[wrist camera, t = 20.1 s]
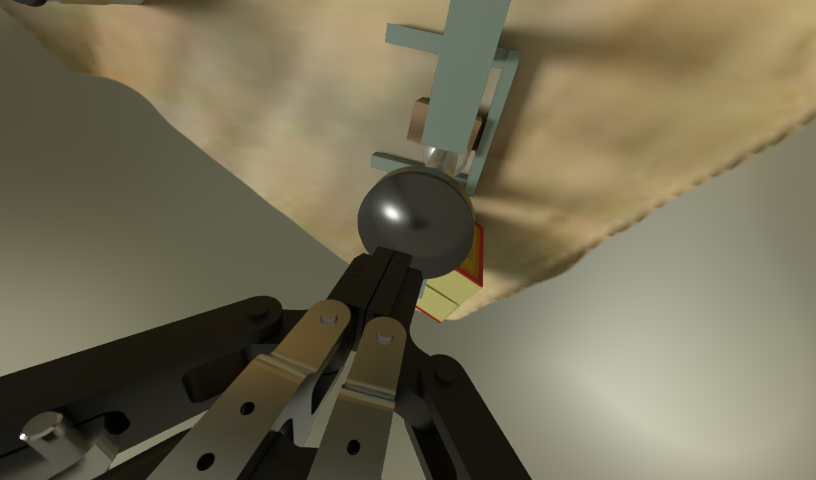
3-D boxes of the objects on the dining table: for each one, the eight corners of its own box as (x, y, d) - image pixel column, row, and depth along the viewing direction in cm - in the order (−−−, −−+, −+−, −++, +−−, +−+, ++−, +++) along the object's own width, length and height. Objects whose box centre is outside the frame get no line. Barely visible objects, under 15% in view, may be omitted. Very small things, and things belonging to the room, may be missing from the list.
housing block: (422, 97, 42) (415, 100, 37) (482, 115, 41) (481, 121, 37) (413, 131, 44) (406, 139, 40) (469, 149, 44) (468, 158, 40)
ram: (424, 111, 27) (363, 161, 13) (488, 127, 26) (491, 195, 13) (411, 172, 30) (353, 261, 17) (468, 187, 29) (454, 292, 16)
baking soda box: (453, 206, 49) (441, 260, 36) (483, 228, 50) (482, 288, 37) (422, 242, 54) (402, 301, 41) (450, 261, 55) (439, 325, 42)
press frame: (393, 10, 37) (265, -63, 15) (524, 38, 36) (586, 1, 14) (373, 172, 49) (285, 257, 28) (470, 198, 48) (458, 310, 26)
